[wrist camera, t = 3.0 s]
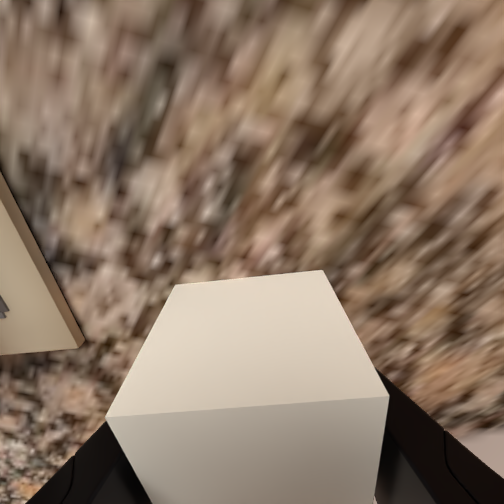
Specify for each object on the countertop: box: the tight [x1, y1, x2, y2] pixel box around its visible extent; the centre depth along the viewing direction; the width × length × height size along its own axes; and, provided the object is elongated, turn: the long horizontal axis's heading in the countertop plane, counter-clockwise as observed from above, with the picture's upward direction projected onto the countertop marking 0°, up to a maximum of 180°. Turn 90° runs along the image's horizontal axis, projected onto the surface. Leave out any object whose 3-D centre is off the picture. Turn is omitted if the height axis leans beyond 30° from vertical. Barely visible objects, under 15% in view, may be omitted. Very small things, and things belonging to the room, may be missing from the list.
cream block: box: [105, 270, 389, 504], centre depth 7 cm, size 5×5×4 cm
